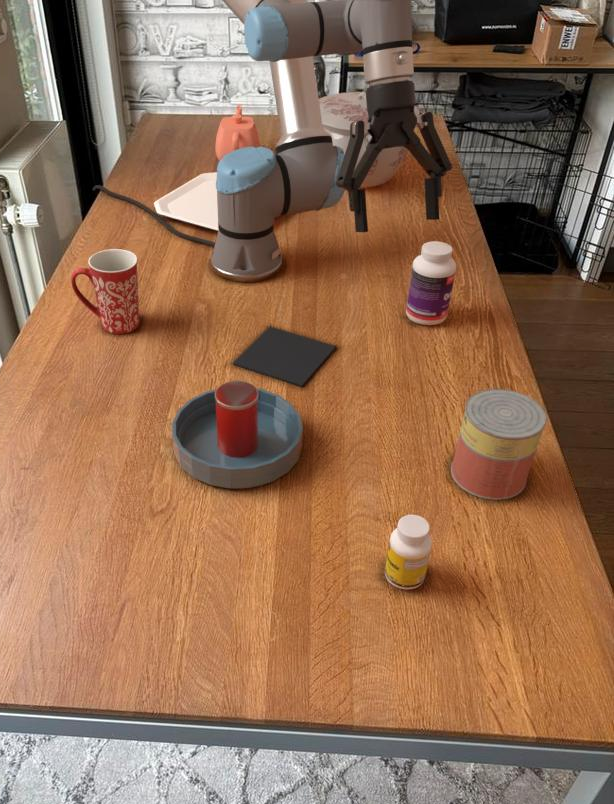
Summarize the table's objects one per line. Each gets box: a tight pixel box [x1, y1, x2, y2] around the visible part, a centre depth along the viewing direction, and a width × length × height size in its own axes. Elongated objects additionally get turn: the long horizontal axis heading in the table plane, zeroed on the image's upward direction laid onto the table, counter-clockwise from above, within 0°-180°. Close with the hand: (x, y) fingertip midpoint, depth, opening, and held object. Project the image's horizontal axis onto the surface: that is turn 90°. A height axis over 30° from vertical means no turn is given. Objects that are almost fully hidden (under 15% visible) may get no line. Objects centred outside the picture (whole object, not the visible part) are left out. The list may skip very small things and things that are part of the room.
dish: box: [171, 387, 304, 490], centre depth 122 cm, size 20×20×4 cm
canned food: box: [450, 388, 548, 501], centre depth 115 cm, size 11×11×12 cm
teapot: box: [214, 104, 261, 163], centre depth 206 cm, size 20×12×12 cm, turn 178°
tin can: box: [215, 380, 259, 457], centre depth 120 cm, size 7×7×10 cm
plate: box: [153, 171, 278, 233], centre depth 188 cm, size 29×29×2 cm
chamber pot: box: [319, 91, 421, 189], centre depth 195 cm, size 28×28×21 cm
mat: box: [232, 326, 337, 388], centre depth 142 cm, size 14×14×1 cm
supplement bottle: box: [384, 514, 433, 590], centre depth 101 cm, size 5×5×10 cm
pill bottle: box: [405, 240, 457, 326], centre depth 147 cm, size 8×8×14 cm
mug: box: [70, 248, 140, 335], centre depth 146 cm, size 13×9×14 cm
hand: (397, 225), depth 128 cm, fingers open, 13 cm apart
